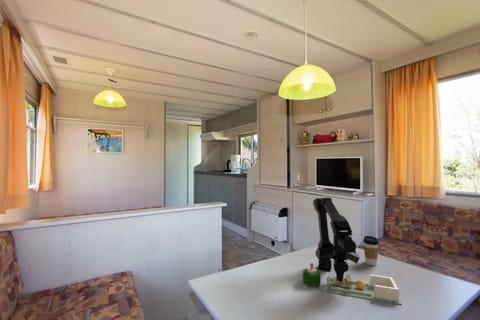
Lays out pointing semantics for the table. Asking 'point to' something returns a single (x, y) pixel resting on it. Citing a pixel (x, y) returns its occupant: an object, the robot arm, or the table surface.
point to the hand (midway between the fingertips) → (339, 277)
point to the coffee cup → (371, 250)
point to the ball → (360, 284)
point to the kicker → (343, 282)
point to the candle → (311, 277)
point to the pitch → (370, 289)
